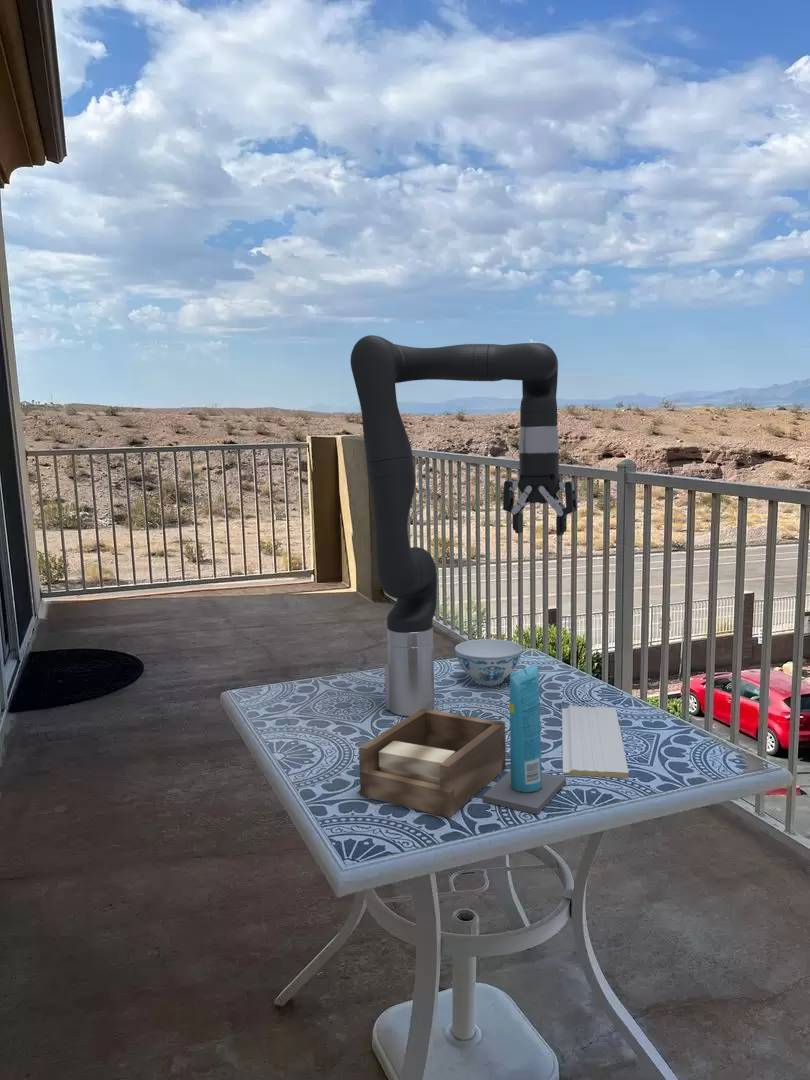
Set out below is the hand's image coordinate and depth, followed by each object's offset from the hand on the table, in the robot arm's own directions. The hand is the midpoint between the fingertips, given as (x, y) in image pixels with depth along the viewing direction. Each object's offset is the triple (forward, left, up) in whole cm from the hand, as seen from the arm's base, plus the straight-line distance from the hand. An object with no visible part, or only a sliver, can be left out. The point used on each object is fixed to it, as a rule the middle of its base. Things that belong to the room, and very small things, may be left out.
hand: (539, 534), depth 160 cm
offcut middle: (-3, -43, -34) cm, 55 cm away
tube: (+11, -35, -35) cm, 51 cm away
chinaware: (-18, +14, -36) cm, 43 cm away
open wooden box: (-3, -38, -36) cm, 52 cm away
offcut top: (-3, -43, -32) cm, 54 cm away
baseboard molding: (+13, -10, -37) cm, 40 cm away
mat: (+11, -35, -36) cm, 52 cm away
